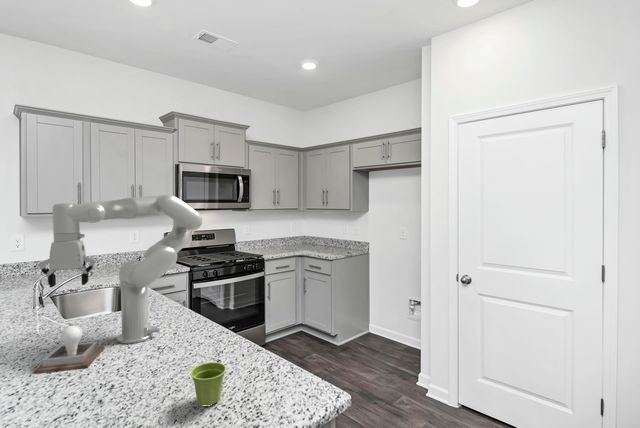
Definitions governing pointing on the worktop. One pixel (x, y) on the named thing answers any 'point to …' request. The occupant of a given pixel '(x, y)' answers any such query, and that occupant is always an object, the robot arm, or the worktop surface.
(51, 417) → the worktop surface
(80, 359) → the square picture frame
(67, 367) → the socket base
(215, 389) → the plant pot
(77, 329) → the lightbulb
